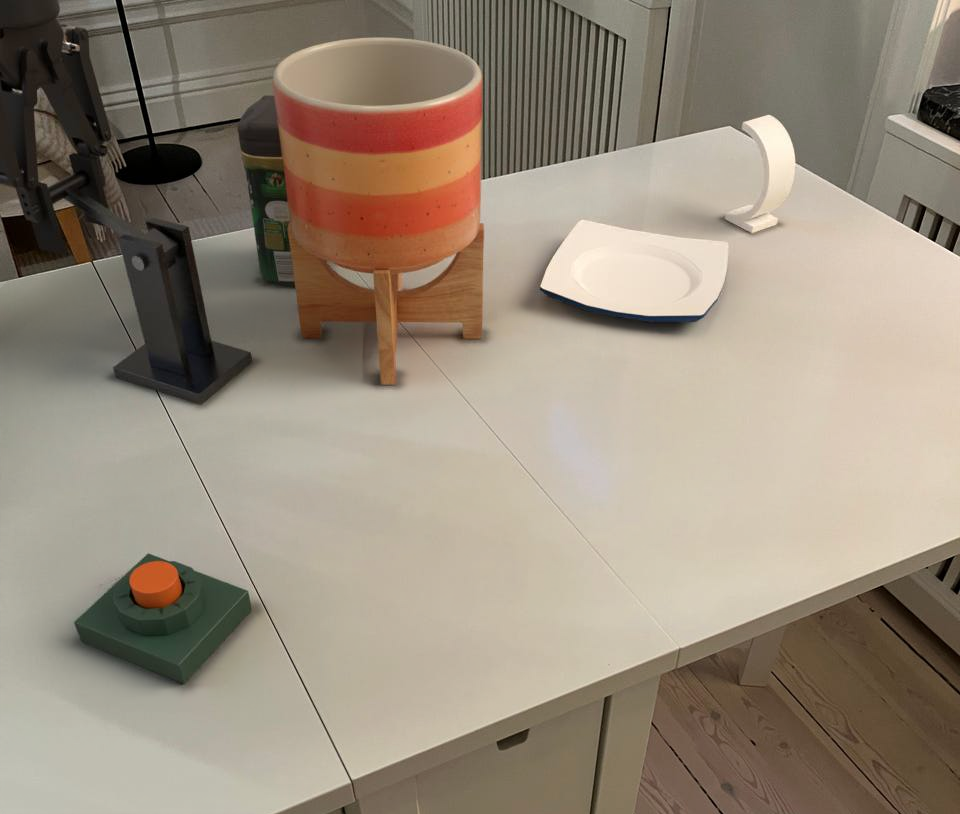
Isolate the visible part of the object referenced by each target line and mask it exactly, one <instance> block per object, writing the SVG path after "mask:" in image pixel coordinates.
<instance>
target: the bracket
mask: <svg viewBox="0 0 960 814" xmlns="http://www.w3.org/2000/svg"><path fill="white" fill-rule="evenodd" d="M145 225H146V229H147V232H148V231H150V230H151V229H153V228H155V229H156V230H158V231H160V232H161V233H163V234H164V235H166V236H167V237H169V238H170V239H172V240H173V241H175V242H177V243H178V247H177V256H176V264H174V265H173V266H171V267H170V268H167V264H166V259H165V255H164V250H163V246H162V244H161V243H157V242H153V241H150V240H146V239H142V238H138V237H134V236H130V235H127V234H124V235H123V236H121V235H120V236H119V237H118V239H117V240H118V242H119V247H120V251H121V255H122V259H123V261H124V262H123V263H124V266H125V270H126V274H127V278H128V282H129V286H130V290H131V294H132V298H133V303H134V305H135V309H136V310H135V311H136V313H137V318H138V322H139V325H140V326H139V327H140V329H141V334H142V337H143V341H144V344H143V345H142V346H140V347H138V348H137V349H136V350H134V351H133V352H132V353H130V354H129V355H128V356H126V357H125V358H124V359H122V360H121V361H119V362H118V363H116V364H115V365H114V366H113V367H112V371H113V374H114V377H115V378H117V379H121V380H123V381H126V382H130V383H132V384H136V385H139V386H142V387H145V388H148V389H151V390H154V391H158V392H160V393H163V394H168V395H170V396H173V397H176V398H180V399H183V400H186V401H189V402H192V403H196V404H199V405H203V404H204V403H205V402H206V401H207V400H209V399H210V398H211V397H212V396H213V395H215V394H216V393H217V392H218V391H219V390H221V389H222V388H223V387H224V386H226V385H227V384H228V383H230V382H231V381H232V380H233V379H234V378H235V377H236V376H238V375H239V374H240V373H241V372H242V371H244V370H245V369H246V368H248V366H250V365H251V364H252V363H253V361H254V360H253V356H252V352H251V351H249V350H245V349H241V348H238V347H235V346H232V345H229V344H224V343H221V342H217V341H215V340H212V337H211V331H210V326H209V322H208V316H207V311H206V307H205V306H206V305H205V301H204V297H203V292H202V291H203V290H202V287H201V281H200V276H199V271H198V267H197V262H196V257H195V251H194V246H193V242H192V236H191V231H190V227H189V226H187V225H183V224H180V223H176V222H172V221H167V220H164V219H160V218H156V217H150V218H149V219H147V220H145Z"/></svg>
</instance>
